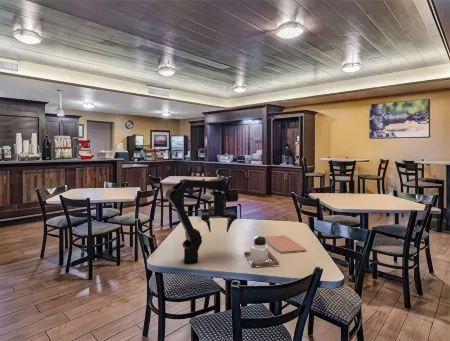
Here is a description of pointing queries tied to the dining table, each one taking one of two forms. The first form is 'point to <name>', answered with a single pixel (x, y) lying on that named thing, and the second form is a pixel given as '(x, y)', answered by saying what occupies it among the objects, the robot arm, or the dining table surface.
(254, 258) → the medicine bottle
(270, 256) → the wooden picture frame
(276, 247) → the notebook
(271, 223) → the dining table surface
